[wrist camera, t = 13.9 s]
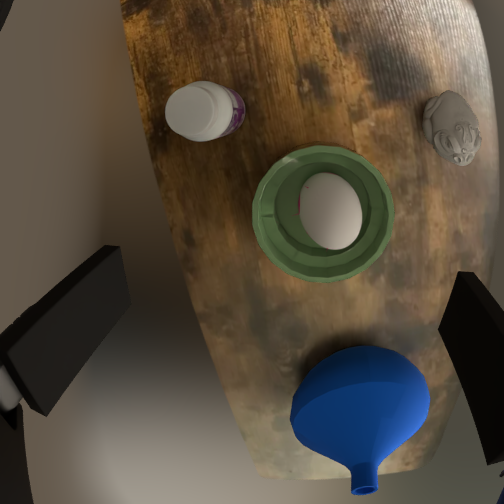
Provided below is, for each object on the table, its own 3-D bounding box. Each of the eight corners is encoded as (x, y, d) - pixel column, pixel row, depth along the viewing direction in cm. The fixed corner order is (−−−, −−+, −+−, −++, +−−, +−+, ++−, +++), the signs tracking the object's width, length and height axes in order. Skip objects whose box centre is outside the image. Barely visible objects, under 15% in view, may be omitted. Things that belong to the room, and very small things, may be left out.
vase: (331, 420, 47) (327, 520, 30) (269, 358, 43) (244, 479, 26) (431, 378, 40) (457, 483, 23) (389, 299, 36) (426, 429, 19)
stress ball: (301, 170, 34) (261, 190, 30) (363, 158, 28) (329, 177, 24) (321, 232, 36) (286, 260, 32) (382, 230, 30) (354, 261, 26)
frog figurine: (416, 158, 28) (441, 170, 22) (406, 92, 26) (431, 88, 20) (463, 154, 27) (496, 166, 21) (455, 91, 24) (488, 89, 18)
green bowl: (259, 255, 36) (251, 277, 32) (260, 138, 31) (252, 142, 26) (373, 264, 34) (381, 286, 30) (388, 148, 29) (402, 154, 24)
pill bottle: (218, 146, 32) (185, 160, 23) (187, 110, 30) (143, 111, 22) (257, 113, 30) (237, 113, 21) (224, 76, 28) (191, 63, 20)
